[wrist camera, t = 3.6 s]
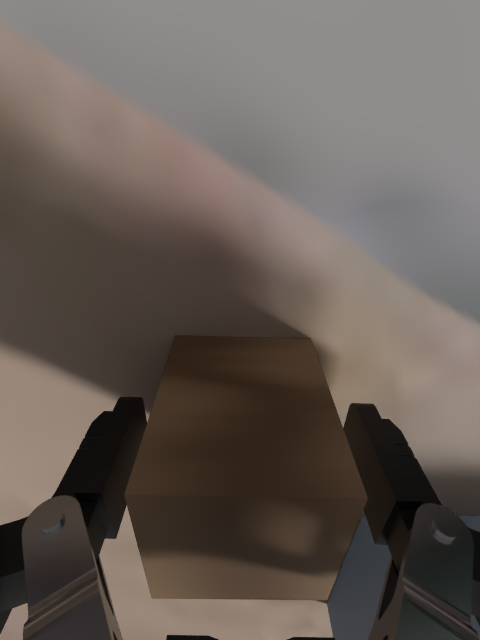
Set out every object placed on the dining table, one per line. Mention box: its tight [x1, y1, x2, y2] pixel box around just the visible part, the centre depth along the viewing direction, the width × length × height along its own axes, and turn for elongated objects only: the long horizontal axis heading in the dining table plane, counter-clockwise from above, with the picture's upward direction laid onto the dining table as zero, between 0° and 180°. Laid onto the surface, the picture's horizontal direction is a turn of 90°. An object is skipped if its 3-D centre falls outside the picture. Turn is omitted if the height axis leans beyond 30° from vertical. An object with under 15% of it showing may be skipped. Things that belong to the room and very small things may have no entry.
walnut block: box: [124, 336, 368, 600], centre depth 10 cm, size 5×5×6 cm
